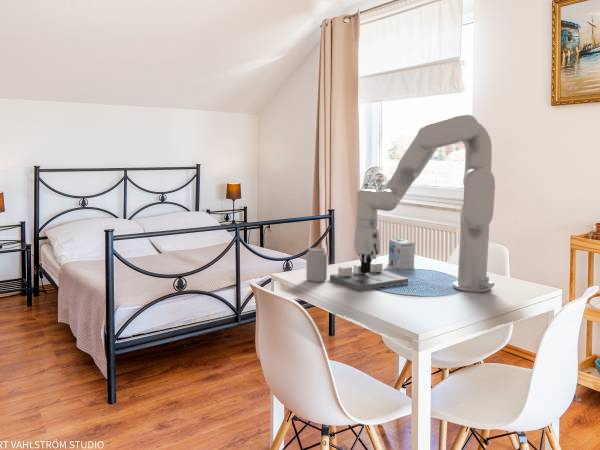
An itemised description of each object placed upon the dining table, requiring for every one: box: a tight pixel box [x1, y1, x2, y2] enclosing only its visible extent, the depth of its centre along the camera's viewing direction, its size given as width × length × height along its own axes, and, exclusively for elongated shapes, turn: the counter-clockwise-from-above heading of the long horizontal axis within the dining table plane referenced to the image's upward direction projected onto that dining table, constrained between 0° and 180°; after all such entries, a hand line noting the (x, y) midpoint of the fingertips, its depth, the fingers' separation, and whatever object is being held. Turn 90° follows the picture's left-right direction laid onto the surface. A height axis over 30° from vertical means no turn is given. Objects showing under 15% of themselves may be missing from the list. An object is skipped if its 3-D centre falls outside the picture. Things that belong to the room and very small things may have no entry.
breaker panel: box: [329, 261, 409, 293], centre depth 191 cm, size 18×22×5 cm
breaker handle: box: [353, 263, 364, 274], centre depth 195 cm, size 3×4×3 cm
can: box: [305, 247, 328, 283], centre depth 192 cm, size 8×8×12 cm
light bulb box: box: [388, 238, 416, 270], centre depth 217 cm, size 11×7×11 cm, turn 17°
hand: (365, 272), depth 192 cm, fingers closed
